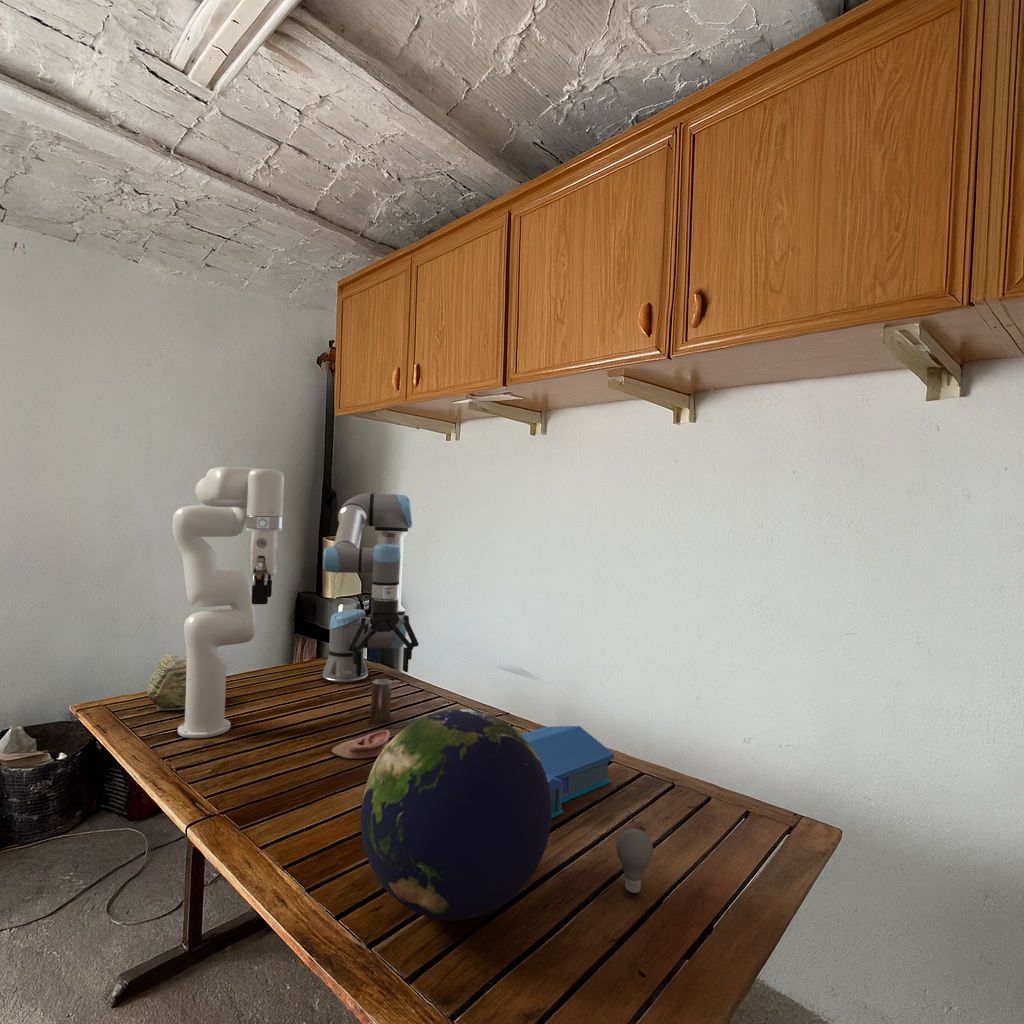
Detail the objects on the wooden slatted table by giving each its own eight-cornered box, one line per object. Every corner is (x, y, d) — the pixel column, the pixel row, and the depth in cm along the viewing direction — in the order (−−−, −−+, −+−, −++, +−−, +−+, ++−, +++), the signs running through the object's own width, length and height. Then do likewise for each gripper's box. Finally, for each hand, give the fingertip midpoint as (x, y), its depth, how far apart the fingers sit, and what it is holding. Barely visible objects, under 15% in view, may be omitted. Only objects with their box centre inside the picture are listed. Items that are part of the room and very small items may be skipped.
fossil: (144, 707, 182) (145, 655, 182) (212, 696, 194) (213, 647, 194) (151, 716, 175) (153, 662, 175) (221, 703, 188) (223, 653, 188)
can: (374, 725, 177) (376, 685, 177) (367, 718, 181) (369, 680, 181) (392, 722, 180) (394, 682, 179) (385, 716, 184) (387, 677, 184)
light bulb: (610, 879, 108) (613, 822, 108) (644, 879, 109) (647, 822, 109) (619, 902, 102) (622, 840, 102) (655, 901, 103) (658, 840, 103)
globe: (314, 931, 92) (322, 727, 92) (419, 834, 120) (426, 677, 120) (503, 1000, 81) (513, 769, 81) (570, 876, 109) (578, 703, 108)
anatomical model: (326, 739, 154) (347, 723, 165) (325, 755, 154) (346, 738, 166) (377, 746, 152) (395, 729, 163) (376, 762, 152) (394, 744, 163)
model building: (492, 844, 118) (494, 791, 118) (418, 795, 136) (419, 748, 136) (622, 787, 144) (624, 743, 144) (546, 752, 162) (547, 713, 162)
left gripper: (279, 526, 134) (276, 607, 135) (284, 523, 151) (282, 594, 151) (241, 525, 132) (238, 607, 133) (251, 521, 149) (248, 594, 149)
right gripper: (343, 602, 171) (340, 680, 171) (431, 599, 182) (428, 672, 183) (337, 598, 177) (334, 673, 178) (422, 595, 189) (419, 665, 189)
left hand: (261, 600), depth 142 cm, fingers open, 9 cm apart
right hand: (382, 673), depth 180 cm, fingers open, 13 cm apart
